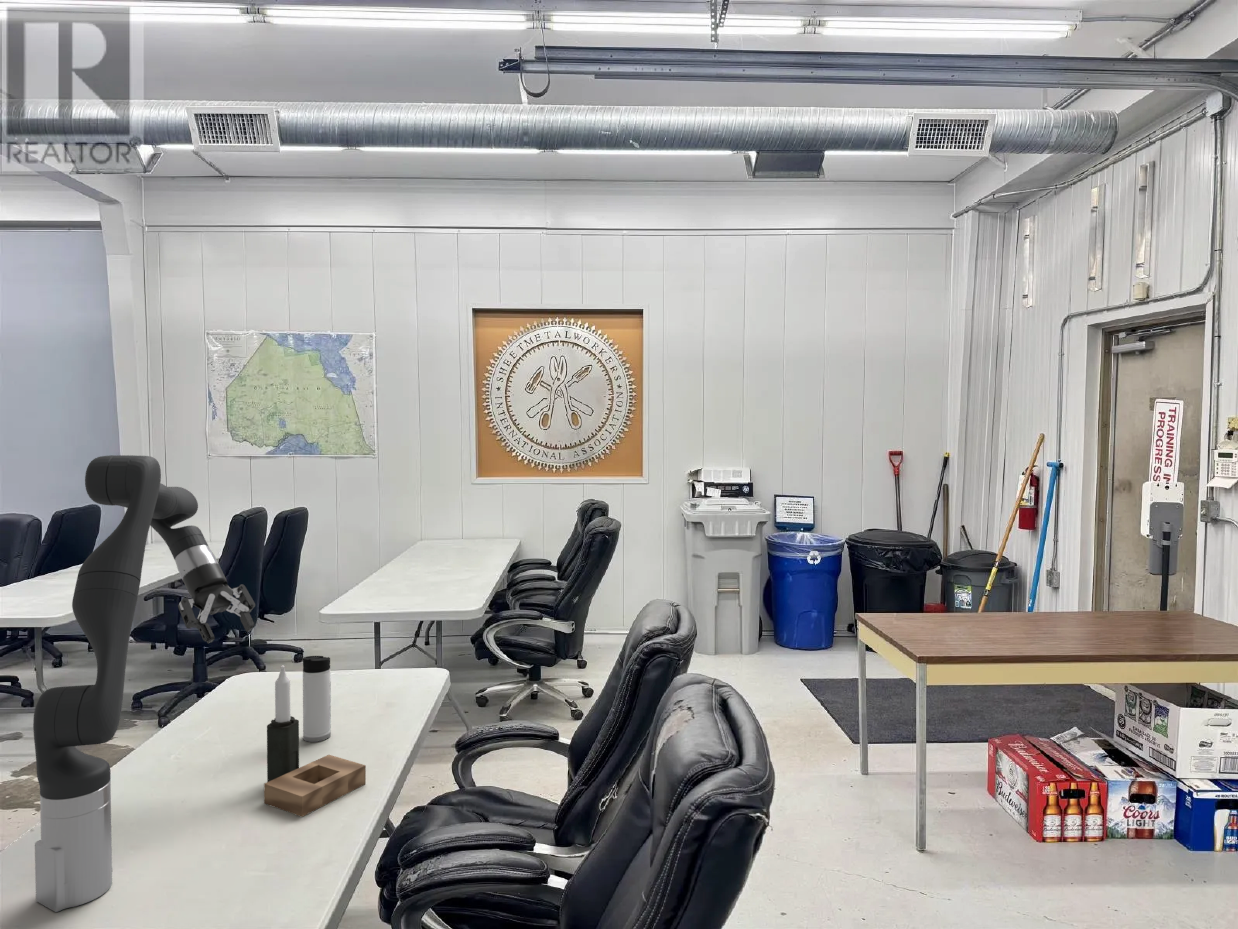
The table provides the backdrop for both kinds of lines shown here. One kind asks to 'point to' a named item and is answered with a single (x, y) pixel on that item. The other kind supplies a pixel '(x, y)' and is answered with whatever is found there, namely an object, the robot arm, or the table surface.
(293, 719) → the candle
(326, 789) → the socket block
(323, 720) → the travel mug
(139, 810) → the table surface
